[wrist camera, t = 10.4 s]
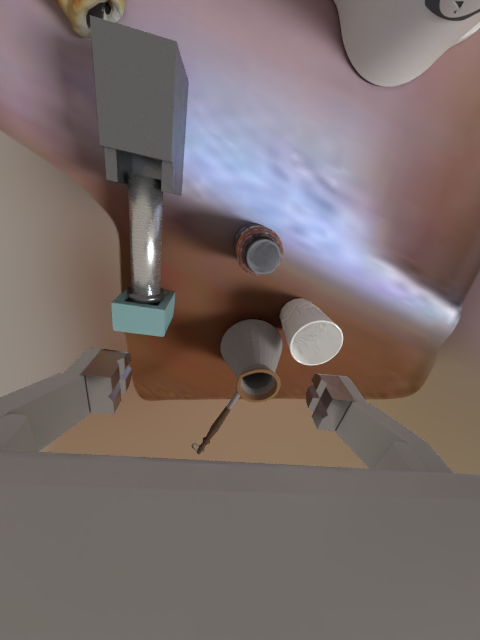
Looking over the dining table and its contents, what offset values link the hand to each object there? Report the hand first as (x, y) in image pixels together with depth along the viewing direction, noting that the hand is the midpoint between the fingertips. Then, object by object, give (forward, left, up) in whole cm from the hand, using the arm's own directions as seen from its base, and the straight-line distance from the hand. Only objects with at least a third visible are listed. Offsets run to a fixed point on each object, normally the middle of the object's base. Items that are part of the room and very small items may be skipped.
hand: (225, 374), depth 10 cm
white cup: (+9, +15, -29) cm, 34 cm away
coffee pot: (+20, +5, -29) cm, 36 cm away
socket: (+10, -11, -29) cm, 33 cm away
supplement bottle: (-2, +4, -29) cm, 30 cm away
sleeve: (-12, -11, -29) cm, 33 cm away
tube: (+2, -11, -28) cm, 30 cm away
